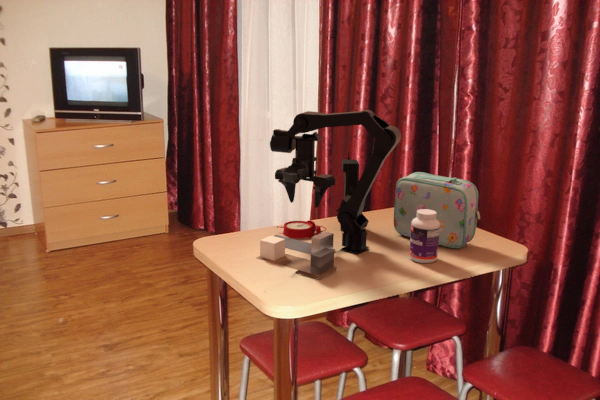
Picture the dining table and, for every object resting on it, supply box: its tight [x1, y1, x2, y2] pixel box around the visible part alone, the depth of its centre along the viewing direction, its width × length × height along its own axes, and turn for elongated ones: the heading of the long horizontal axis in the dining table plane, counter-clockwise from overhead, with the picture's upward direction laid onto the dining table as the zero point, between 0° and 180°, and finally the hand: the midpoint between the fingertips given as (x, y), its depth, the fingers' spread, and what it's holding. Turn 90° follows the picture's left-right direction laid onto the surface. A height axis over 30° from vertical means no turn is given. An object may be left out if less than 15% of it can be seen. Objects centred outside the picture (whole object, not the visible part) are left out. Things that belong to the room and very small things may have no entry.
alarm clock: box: [276, 220, 327, 239], centre depth 201 cm, size 10×6×15 cm
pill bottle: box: [408, 209, 440, 264], centre depth 181 cm, size 8×8×14 cm
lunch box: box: [393, 171, 481, 249], centre depth 197 cm, size 27×10×21 cm, turn 50°
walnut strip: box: [255, 248, 337, 280], centre depth 175 cm, size 22×8×6 cm, turn 55°
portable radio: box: [339, 151, 360, 231], centre depth 207 cm, size 8×6×25 cm
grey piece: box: [273, 230, 336, 255], centre depth 189 cm, size 22×8×6 cm, turn 54°
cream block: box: [259, 235, 286, 260], centre depth 180 cm, size 5×5×5 cm
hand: (304, 204), depth 193 cm, fingers open, 9 cm apart
